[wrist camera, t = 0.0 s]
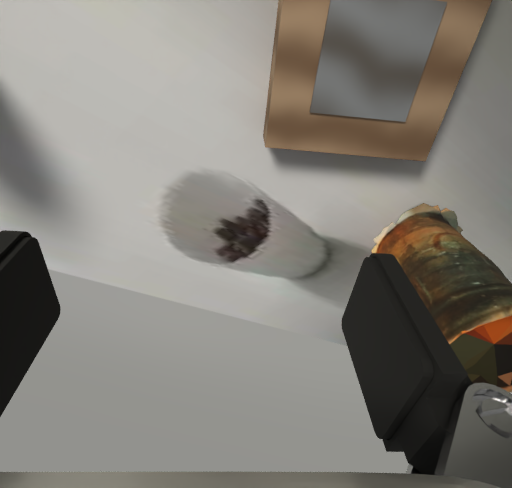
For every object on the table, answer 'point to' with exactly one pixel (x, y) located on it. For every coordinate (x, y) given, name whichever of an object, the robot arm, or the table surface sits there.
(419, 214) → the vessel
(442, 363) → the robot arm
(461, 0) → the walnut plinth
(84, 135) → the table surface
